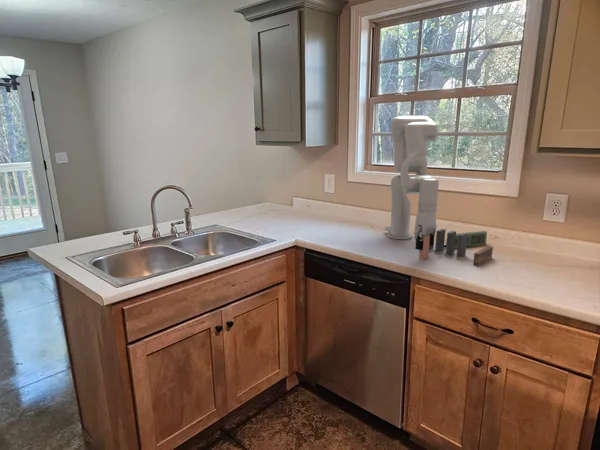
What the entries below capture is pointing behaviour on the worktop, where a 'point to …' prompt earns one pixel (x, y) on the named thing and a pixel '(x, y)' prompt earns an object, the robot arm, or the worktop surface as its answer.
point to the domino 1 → (425, 247)
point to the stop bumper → (482, 255)
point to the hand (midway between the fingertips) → (424, 247)
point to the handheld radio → (473, 239)
